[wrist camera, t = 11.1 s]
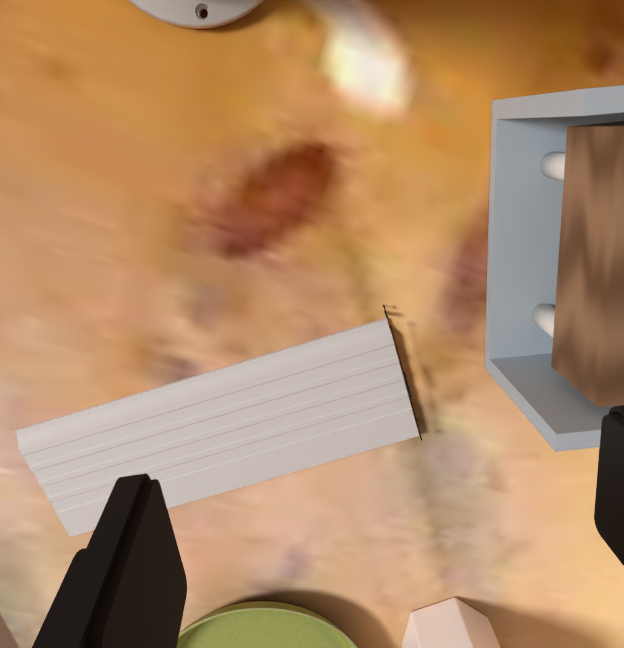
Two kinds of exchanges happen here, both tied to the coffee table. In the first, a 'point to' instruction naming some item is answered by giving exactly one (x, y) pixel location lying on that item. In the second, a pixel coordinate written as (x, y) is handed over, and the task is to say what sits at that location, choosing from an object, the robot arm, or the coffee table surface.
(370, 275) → the coffee table surface
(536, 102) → the peg frame
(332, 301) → the coffee table surface
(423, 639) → the jar
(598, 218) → the shelf board
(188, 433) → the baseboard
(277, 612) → the saucer
